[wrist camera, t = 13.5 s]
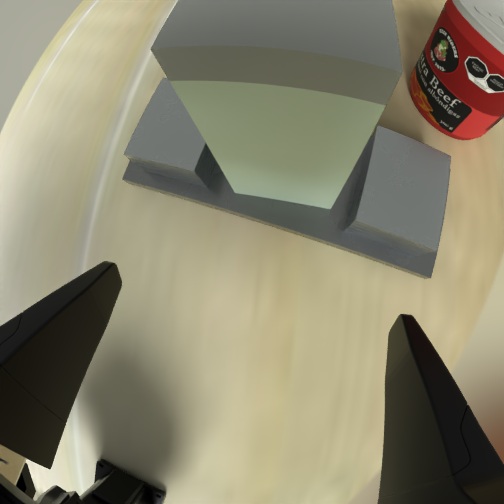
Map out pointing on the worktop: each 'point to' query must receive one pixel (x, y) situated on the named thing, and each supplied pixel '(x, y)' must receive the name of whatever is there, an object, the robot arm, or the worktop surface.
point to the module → (283, 87)
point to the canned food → (463, 69)
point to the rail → (300, 215)
